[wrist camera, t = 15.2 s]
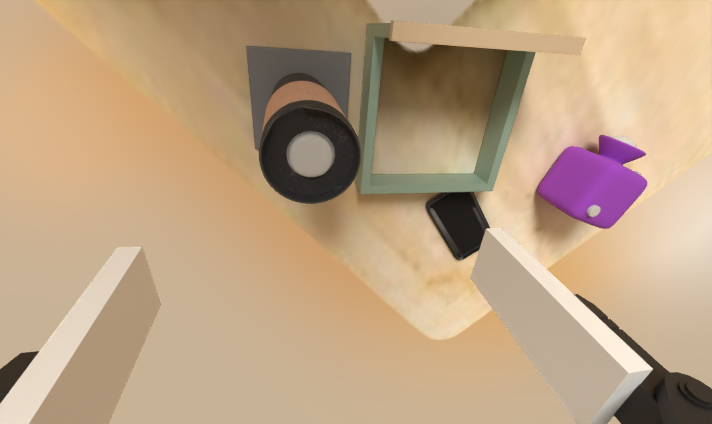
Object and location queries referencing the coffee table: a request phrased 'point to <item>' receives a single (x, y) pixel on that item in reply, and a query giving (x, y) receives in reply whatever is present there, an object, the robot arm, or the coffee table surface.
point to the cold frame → (502, 110)
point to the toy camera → (595, 181)
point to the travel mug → (307, 142)
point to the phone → (458, 221)
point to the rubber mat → (280, 62)
